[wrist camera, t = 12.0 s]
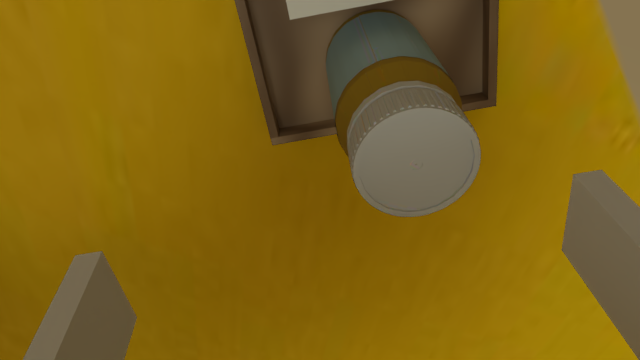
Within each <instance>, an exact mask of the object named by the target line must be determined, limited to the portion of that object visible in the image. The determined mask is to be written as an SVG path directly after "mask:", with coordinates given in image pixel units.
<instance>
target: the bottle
mask: <svg viewBox="0 0 640 360" xmlns="http://www.w3.org/2000/svg"><path fill="white" fill-rule="evenodd" d="M326 71H327V77H328V84H329V90H330V96H331V102H332V108H333V115H334V121H335V126H336V131H337V136H338V139H339V142H340V145H341V146H342V148H343V149H344V151H345V153H346V154H347V156H348V157H349V161H350V167H351V172H352V177H353V181H354V183H355V185H356V188H358V191H359V193H360V194H361V195H362V197H363V198H364V199H365V200H366V201H367V202H368V203H369V204H370V205H372V206H373V207H375V208H376V209H378V210H380V211H382V212H385V213H387V214H391V215H395V216H402V217H414V216H422V215H427V214H430V213H433V212H436V211H439V210H441V209H443V208H445V207H447V206H449V205H450V204H452V203H453V202H455V201H456V200H457V199H458V198H460V197H461V196H462V195H463V194H464V193H465V192H466V190H467V189H468V188H469V187H470V185H471V184H472V182H473V181H474V179H475V177H476V175H477V172H478V169H479V165H480V159H481V150H480V144H479V139H478V137H477V133H476V132H475V130H474V128H473V127H472V125H471V123H470V122H469V120H468V119H467V117H466V116H465V114H464V113H463V111H462V101H461V98H460V95H459V93H458V91H457V88H456V86H455V85H454V82H453V81H452V79H451V78H450V76H449V75H448V73H447V72H446V70H445V69H444V67H443V66H442V65H441V63H440V62H439V60H438V59H437V57H436V56H435V55H434V53H433V52H432V50H431V49H430V47H429V46H428V45H427V43H426V42H425V40H424V39H423V37H422V36H421V34H420V33H419V32H418V30H417V29H416V28H415V27H414V26H413V25H412V24H411V23H410V22H409V21H408V20H407V19H406V18H405V17H403V16H401V15H399V14H397V13H395V12H392V11H386V10H371V11H366V12H362V13H359V14H357V15H355V16H353V17H351V18H350V19H348V20H347V21H345V22H344V23H343V24H342V25H341V26H340V27H339V28H338V29H337V30H336V32H335V33H334V35H333V37H332V39H331V41H330V43H329V45H328V48H327V54H326Z"/></svg>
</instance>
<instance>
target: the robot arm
mask: <svg viewBox="0 0 640 360" xmlns="http://www.w3.org/2000/svg"><path fill="white" fill-rule="evenodd" d="M562 251H563V252H564V254H565V255H566V257H567V258H568V260H569V261H570V262H571V264H572V265H573V267H574V268H575V269H576V271H577V272H578V274H579V275H580V277H581V278H582V279H583V281H584V282H585V284H586V285H587V287H588V288H589V289H590V291H591V292H592V294H593V295H594V297H595V298H596V299H597V301H598V302H599V304H600V305H601V306H602V308H603V309H604V311H605V312H606V314H607V315H608V316H609V318H610V319H611V321H612V322H613V324H614V325H615V326H616V328H617V329H618V331H619V332H620V333H621V335H622V336H623V338H624V339H625V341H626V342H627V343H628V345H629V346H630V348H631V349H632V351H633V352H634V353H635V355H636V356H637V358H638V359H639V360H640V207H639V206H638V205H637V204H636V203H635V202H634V201H633V200H632V199H631V198H630V197H629V196H628V195H627V194H626V193H625V192H624V191H623V190H622V189H621V188H620V187H618V186H617V185H616V184H615V183H614V182H613V181H612V180H611V179H610V178H609V177H608V176H607V175H606V174H605V173H604V172H603V171H602V170H597V171H591V172H585V173H579V174H573V180H572V187H571V193H570V200H569V206H568V213H567V219H566V226H565V232H564V239H563V245H562ZM136 319H137V317H136V315H135V313H134V311H133V309H132V307H131V305H130V303H129V302H128V300H127V298H126V296H125V294H124V292H123V290H122V288H121V286H120V284H119V283H118V281H117V279H116V277H115V275H114V273H113V271H112V269H111V267H110V265H109V264H108V262H107V260H106V258H105V256H104V254H103V252H102V251H100V252H94V253H88V254H82V255H75V257H74V259H73V261H72V263H71V265H70V267H69V269H68V271H67V273H66V275H65V277H64V279H63V281H62V283H61V285H60V287H59V289H58V291H57V293H56V295H55V297H54V299H53V301H52V303H51V305H50V307H49V309H48V311H47V313H46V315H45V317H44V319H43V321H42V323H41V325H40V327H39V329H38V331H37V333H36V334H35V336H34V338H33V340H32V342H31V344H30V346H29V348H28V350H27V352H26V354H25V356H24V358H23V360H124V358H125V355H126V351H127V348H128V345H129V341H130V338H131V335H132V332H133V328H134V325H135V322H136Z"/></svg>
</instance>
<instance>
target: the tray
mask: <svg viewBox="0 0 640 360" xmlns="http://www.w3.org/2000/svg"><path fill="white" fill-rule="evenodd" d="M235 3H236V7H237V11H238V15H239V19H240V22H241V26H242V30H243V34H244V38H245V42H246V45H247V49H248V53H249V57H250V61H251V65H252V68H253V72H254V76H255V80H256V84H257V88H258V91H259V95H260V99H261V103H262V107H263V111H264V114H265V118H266V122H267V126H268V130H269V134H270V137H271V141H272V145H277V144H283V143H288V142H294V141H300V140H305V139H311V138H317V137H322V136H328V135H333V134H337V131H336V126H335V121H334V115H333V108H332V102H331V96H330V90H329V84H328V77H327V71H326V54H327V48H328V45H329V43H330V41H331V39H332V37H333V35H334V33H335V32H336V30H337V29H338V28H339V27H340V26H341V25H342V24H343V23H344V22H345V21H347V20H348V19H350V18H351V17H353V16H355V15H357V14H359V13H362V12H366V11H371V10H386V11H392V12H395V13H397V14H399V15H401V16H403V17H405V18H406V19H407V20H408V21H409V22H410V23H411V24H412V25H413V26H414V27H415V28H416V29H417V30H418V32H419V33H420V34H421V36H422V37H423V39H424V40H425V42H426V43H427V45H428V46H429V47H430V49H431V50H432V52H433V53H434V55H435V56H436V57H437V59H438V60H439V62H440V63H441V65H442V66H443V67H444V69H445V70H446V72H447V73H448V75H449V76H450V78H451V79H452V81H453V82H454V85H455V86H456V88H457V91H458V93H459V95H460V98H461V101H462V111H463V112H464V111H469V110H475V109H480V108H486V107H492V106H496V91H497V50H498V9H499V0H392V1H386V2H381V3H376V4H371V5H365V6H360V7H355V8H350V9H344V10H339V11H334V12H329V13H323V14H318V15H313V16H308V17H302V18H297V19H292V20H290V18H289V13H288V8H287V3H286V0H235Z"/></svg>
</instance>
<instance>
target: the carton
mask: <svg viewBox="0 0 640 360" xmlns="http://www.w3.org/2000/svg"><path fill="white" fill-rule="evenodd" d="M386 1H392V0H286V3H287V8H288V13H289V18H290V20H292V19H297V18H302V17H308V16H313V15H318V14H323V13H329V12H334V11H339V10H344V9H350V8H355V7H360V6H365V5H371V4H376V3H381V2H386Z"/></svg>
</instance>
